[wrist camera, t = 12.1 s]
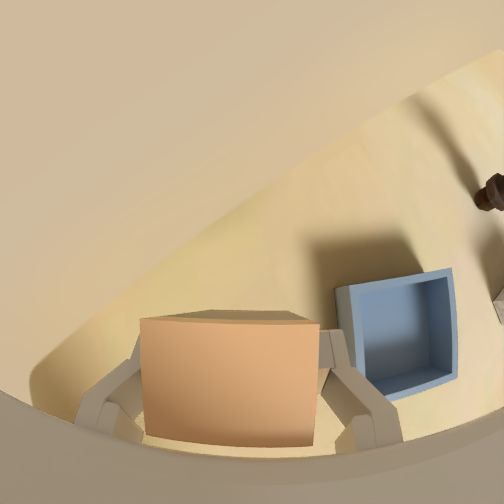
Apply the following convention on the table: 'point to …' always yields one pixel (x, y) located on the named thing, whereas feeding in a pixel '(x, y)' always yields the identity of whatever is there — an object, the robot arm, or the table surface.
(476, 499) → the robot arm
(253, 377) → the block
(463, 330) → the table surface
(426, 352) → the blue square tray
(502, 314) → the medicine box
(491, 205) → the bolt
